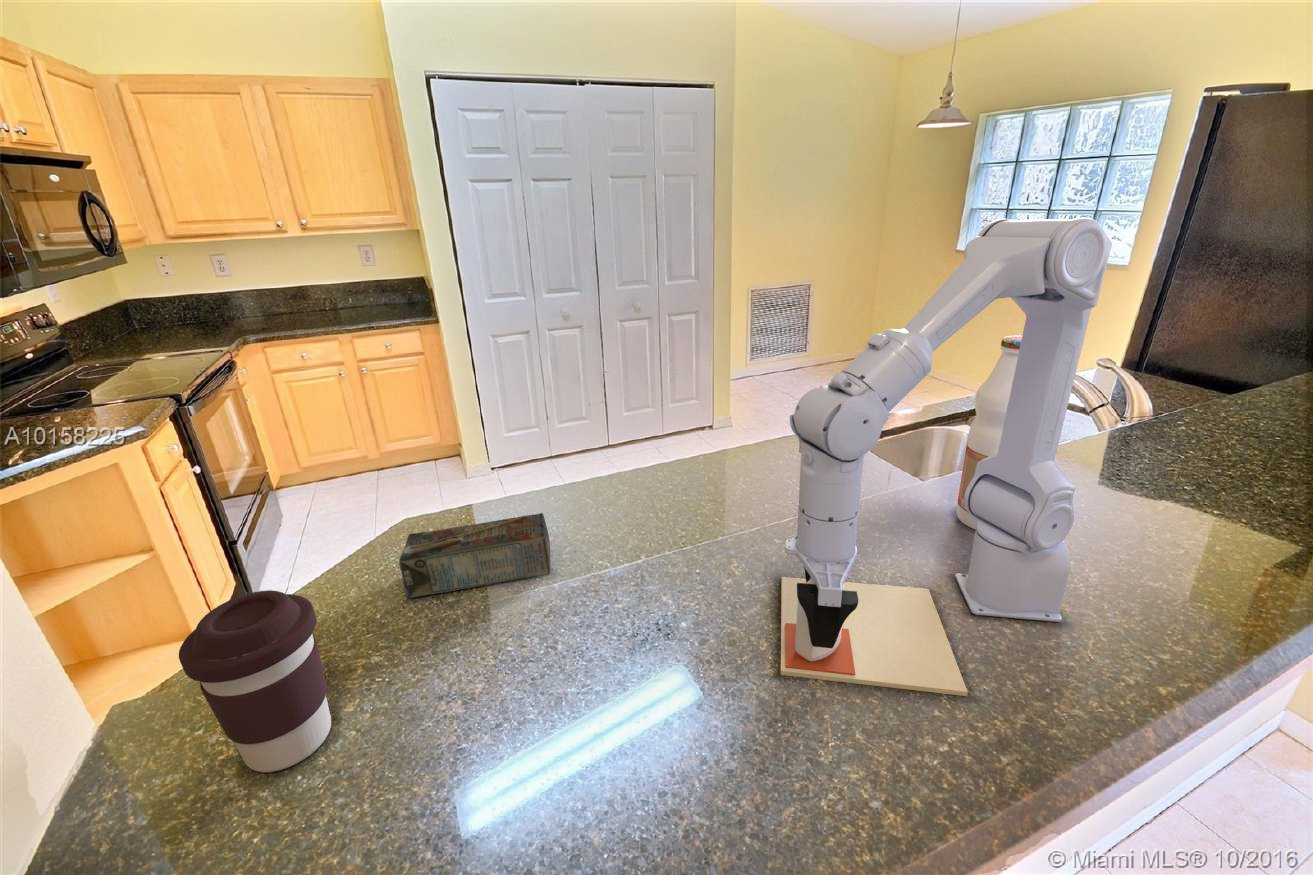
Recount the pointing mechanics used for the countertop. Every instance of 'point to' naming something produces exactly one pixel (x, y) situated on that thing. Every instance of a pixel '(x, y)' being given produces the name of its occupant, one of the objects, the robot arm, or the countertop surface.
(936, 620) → the mat
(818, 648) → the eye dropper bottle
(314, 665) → the coffee cup
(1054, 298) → the robot arm
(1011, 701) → the countertop surface
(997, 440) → the fruit juice
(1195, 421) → the countertop surface
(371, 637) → the countertop surface
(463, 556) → the beverage carton
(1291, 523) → the countertop surface
